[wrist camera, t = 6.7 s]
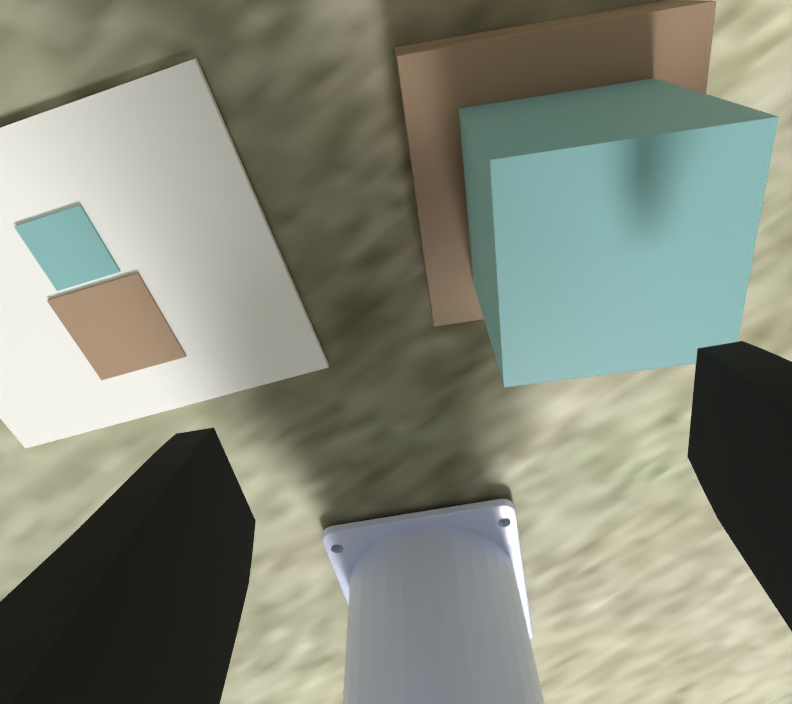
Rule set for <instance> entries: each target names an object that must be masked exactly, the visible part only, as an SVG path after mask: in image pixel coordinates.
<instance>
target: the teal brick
mask: <svg viewBox="0 0 792 704" xmlns="http://www.w3.org/2000/svg"><path fill="white" fill-rule="evenodd" d="M459 119H460V131H461V143H462V155H463V167H464V179H465V190H466V202H467V214H468V226H469V238H470V250H471V262H472V273H473V284H474V287H475V291H476V294H477V297H478V301H479V304H480V308H481V311H482V314H483V318H484V321H485V325H486V328H487V331H488V335H489V338H490V342H491V345H492V348H493V352H494V355H495V359H496V362H497V366H498V369H499V372H500V376H501V379H502V383H503V386H504V387H511V386H519V385H527V384H535V383H543V382H551V381H559V380H567V379H576V378H584V377H592V376H600V375H608V374H616V373H624V372H632V371H640V370H648V369H656V368H664V367H672V366H680V365H688V364H696V359H697V348H703V347H709V346H715V345H721V344H727V343H733V342H738V337H739V331H740V326H741V320H742V315H743V309H744V304H745V298H746V293H747V287H748V282H749V276H750V271H751V265H752V260H753V254H754V248H755V243H756V237H757V232H758V226H759V221H760V215H761V210H762V204H763V199H764V193H765V188H766V182H767V177H768V171H769V166H770V160H771V154H772V149H773V143H774V138H775V132H776V127H777V121H778V116H774V115H771V114H768V113H765V112H762V111H758V110H755V109H752V108H749V107H746V106H742V105H739V104H736V103H733V102H730V101H726V100H723V99H720V98H717V97H714V96H710V95H707V94H704V93H701V92H698V91H694V90H691V89H688V88H685V87H682V86H678V85H675V84H672V83H669V82H666V81H662V80H659V79H656V78H652V79H646V80H639V81H633V82H626V83H620V84H614V85H607V86H601V87H594V88H588V89H582V90H575V91H569V92H562V93H556V94H550V95H543V96H537V97H530V98H524V99H518V100H511V101H505V102H498V103H492V104H486V105H479V106H473V107H466V108H460V109H459Z"/></svg>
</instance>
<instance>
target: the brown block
mask: <svg viewBox="0 0 792 704" xmlns="http://www.w3.org/2000/svg"><path fill="white" fill-rule="evenodd" d="M715 8H716V1H702V0H663V1H657V2H651V3H645V4H640V5H634V6H628V7H622V8H617V9H611V10H605V11H599V12H594V13H588V14H582V15H577V16H571V17H565V18H559V19H554V20H548V21H542V22H536V23H531V24H525V25H519V26H513V27H508V28H502V29H496V30H490V31H485V32H479V33H473V34H467V35H462V36H456V37H450V38H445V39H439V40H433V41H427V42H422V43H416V44H410V45H404V46H399V47H395V54H396V61H397V68H398V76H399V83H400V90H401V97H402V105H403V112H404V119H405V126H406V134H407V141H408V148H409V155H410V162H411V170H412V177H413V184H414V191H415V199H416V206H417V213H418V220H419V228H420V235H421V242H422V249H423V257H424V264H425V271H426V278H427V286H428V292H429V298H430V305H431V311H432V317H433V323H434V327H436V326H442V325H449V324H456V323H463V322H470V321H477V320H484V318H483V314H482V311H481V308H480V304H479V301H478V297H477V294H476V291H475V287H474V284H473V273H472V262H471V250H470V238H469V226H468V214H467V202H466V190H465V179H464V167H463V155H462V143H461V131H460V119H459V109H460V108H466V107H473V106H479V105H486V104H492V103H498V102H505V101H511V100H518V99H524V98H530V97H537V96H543V95H550V94H556V93H562V92H569V91H575V90H582V89H588V88H594V87H601V86H607V85H614V84H620V83H626V82H633V81H639V80H646V79H652V78H656V79H659V80H662V81H666V82H669V83H672V84H675V85H678V86H682V87H685V88H688V89H691V90H694V91H698V92H701V93H704V94H706V88H707V79H708V70H709V61H710V52H711V43H712V35H713V26H714V17H715Z"/></svg>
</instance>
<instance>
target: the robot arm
mask: <svg viewBox="0 0 792 704" xmlns="http://www.w3.org/2000/svg"><path fill="white" fill-rule="evenodd" d="M688 458H689V460H690V462H691V465H692V467H693V469H694V471H695V473H696V475H697V477H698V480H699V482H700V484H701V486H702V488H703V490H704V492H705V494H706V496H707V498H708V500H709V502H710V504H711V506H712V508H713V510H714V512H715V514H716V516H717V518H718V519H719V521H720V523H721V524H722V526H723V527H724V529H725V530H726V532H727V534H728V535H729V537H730V538H731V540H732V541H733V543H734V544H735V546H736V547H737V549H738V551H739V552H740V554H741V555H742V557H743V558H744V560H745V561H746V563H747V564H748V566H749V567H750V569H751V570H752V572H753V573H754V575H755V576H756V578H757V580H758V581H759V583H760V584H761V586H762V587H763V589H764V590H765V592H766V593H767V595H768V596H769V598H770V599H771V601H772V602H773V604H774V605H775V607H776V608H777V610H778V611H779V613H780V614H781V616H782V617H783V619H784V620H785V622H786V623H787V625H788V626H789V628H790V629H791V631H792V362H791V361H789V360H786V359H784V358H782V357H780V356H777V355H775V354H773V353H770V352H768V351H766V350H763V349H761V348H759V347H756V346H753V345H751V344H748V343H746V342H743V341H739V342H733V343H727V344H721V345H715V346H709V347H703V348H697V359H696V370H695V381H694V392H693V403H692V414H691V425H690V436H689V447H688ZM502 518H507V519H504V520H500V519H502ZM254 531H255V519H254V516H253V514H252V512H251V510H250V507H249V505H248V503H247V501H246V499H245V496H244V494H243V492H242V490H241V487H240V485H239V483H238V481H237V478H236V476H235V474H234V472H233V469H232V467H231V465H230V463H229V460H228V458H227V456H226V454H225V452H224V449H223V447H222V445H221V443H220V440H219V438H218V436H217V434H216V431H215V429H214V428H209V429H203V430H197V431H190V432H184V433H178V434H175V435H174V436H173V437H172V438H171V439H170V440H168V441H167V442H166V443H165V444H164V445H163V446H162V447H161V448H160V449H158V450H157V451H156V452H155V453H154V454H153V455H152V456H151V457H150V458H149V459H148V460H147V461H146V462H145V463H144V464H143V465H142V466H141V467H140V468H139V469H138V470H137V471H136V472H135V473H134V474H133V475H132V476H131V477H130V478H129V479H128V480H127V481H126V482H125V483H124V484H123V485H122V486H121V487H120V488H119V489H118V490H117V491H116V492H115V493H114V494H113V495H112V496H111V497H110V498H109V499H108V500H107V501H106V502H105V503H104V504H103V505H102V506H101V507H100V508H99V509H98V510H97V511H96V512H95V513H94V514H93V515H92V516H91V517H90V518H89V519H88V520H87V521H86V522H85V523H84V524H83V525H82V526H81V527H80V528H79V529H78V530H77V531H76V532H75V533H74V534H73V535H71V536H70V537H69V538H68V539H67V540H66V541H65V542H64V543H63V544H62V545H61V546H60V547H59V548H58V549H57V550H56V551H55V552H53V553H52V554H51V555H50V556H49V557H48V558H47V559H46V560H45V561H44V562H43V563H42V564H41V565H39V566H38V567H37V568H36V569H35V570H34V571H33V572H32V573H31V574H30V575H29V576H28V577H27V578H25V579H24V580H23V581H22V582H21V583H20V584H19V585H18V586H17V587H16V588H15V589H14V590H12V591H11V592H10V593H9V594H8V595H7V596H6V597H5V598H4V599H3V600H2V601H1V602H0V704H220V700H221V696H222V692H223V688H224V683H225V679H226V675H227V671H228V667H229V663H230V659H231V655H232V651H233V647H234V643H235V639H236V635H237V631H238V627H239V622H240V618H241V614H242V610H243V606H244V601H245V597H246V593H247V588H248V584H249V576H250V568H251V561H252V552H253V541H254ZM322 542H323V544H324V547H325V549H326V552H327V554H328V557H329V559H330V562H331V564H332V567H333V569H334V572H335V574H336V577H337V579H338V582H339V584H340V586H341V589H342V591H343V594H344V596H345V599H346V601H347V604H348V623H347V640H346V658H345V675H344V692H343V704H544V700H543V695H542V691H541V686H540V682H539V677H538V673H537V668H536V664H535V660H534V655H533V651H532V646H531V642H530V640H531V639H532V637H533V631H532V624H531V617H530V611H529V604H528V597H527V590H526V583H525V576H524V569H523V562H522V555H521V548H520V541H519V534H518V527H517V520H516V513H515V508H514V505H513V503H512V502H511V501H510V500H507V499H497V500H490V501H484V502H478V503H472V504H465V505H459V506H453V507H447V508H440V509H434V510H428V511H422V512H416V513H409V514H403V515H397V516H391V517H384V518H378V519H372V520H366V521H359V522H353V523H347V524H341V525H334V526H330V527H327V528H326V529H325V530H324V531H323V535H322Z"/></svg>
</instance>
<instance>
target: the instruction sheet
mask: <svg viewBox="0 0 792 704" xmlns="http://www.w3.org/2000/svg"><path fill="white" fill-rule="evenodd" d="M328 367H329V364H328V361H327V359H326V357H325V354H324V352H323V350H322V347H321V345H320V343H319V340H318V338H317V336H316V334H315V331H314V329H313V327H312V324H311V322H310V320H309V317H308V315H307V313H306V310H305V308H304V306H303V303H302V301H301V299H300V296H299V294H298V292H297V289H296V287H295V285H294V283H293V280H292V278H291V276H290V273H289V271H288V269H287V266H286V264H285V262H284V259H283V257H282V255H281V252H280V250H279V248H278V245H277V243H276V241H275V239H274V236H273V234H272V232H271V229H270V227H269V225H268V222H267V220H266V218H265V215H264V213H263V211H262V208H261V206H260V204H259V201H258V199H257V197H256V195H255V192H254V190H253V188H252V185H251V183H250V181H249V178H248V176H247V174H246V171H245V169H244V167H243V164H242V162H241V160H240V157H239V155H238V153H237V150H236V148H235V146H234V144H233V141H232V139H231V137H230V134H229V132H228V130H227V127H226V125H225V123H224V120H223V118H222V116H221V113H220V111H219V109H218V106H217V104H216V102H215V100H214V97H213V95H212V93H211V90H210V88H209V86H208V83H207V81H206V79H205V76H204V74H203V72H202V69H201V67H200V65H199V62H198V60H197V58H195V59H192V60H190V61H187V62H184V63H181V64H178V65H176V66H173V67H170V68H167V69H164V70H161V71H159V72H156V73H153V74H150V75H147V76H144V77H142V78H139V79H136V80H133V81H130V82H128V83H125V84H122V85H119V86H116V87H113V88H111V89H108V90H105V91H102V92H99V93H97V94H94V95H91V96H88V97H85V98H82V99H80V100H77V101H74V102H71V103H68V104H66V105H63V106H60V107H57V108H54V109H51V110H49V111H46V112H43V113H40V114H37V115H35V116H32V117H29V118H26V119H23V120H20V121H18V122H15V123H12V124H9V125H6V126H4V127H1V128H0V418H1V420H2V421H3V422H4V423H5V425H6V426H7V427H8V428H9V429H10V431H11V432H12V433H13V434H14V435H15V437H16V438H17V439H18V440H19V441H20V443H21V444H22V445H23V446H24V447H25V448H29V447H32V446H36V445H40V444H44V443H47V442H51V441H55V440H59V439H62V438H66V437H70V436H74V435H77V434H81V433H85V432H89V431H92V430H96V429H100V428H104V427H107V426H111V425H115V424H119V423H122V422H126V421H130V420H134V419H137V418H141V417H145V416H149V415H152V414H156V413H160V412H164V411H167V410H171V409H175V408H179V407H182V406H186V405H190V404H194V403H197V402H201V401H205V400H209V399H212V398H216V397H220V396H224V395H227V394H231V393H235V392H239V391H242V390H246V389H250V388H254V387H258V386H261V385H265V384H269V383H273V382H276V381H280V380H284V379H288V378H291V377H295V376H299V375H303V374H306V373H310V372H314V371H318V370H321V369H325V368H328Z"/></svg>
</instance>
